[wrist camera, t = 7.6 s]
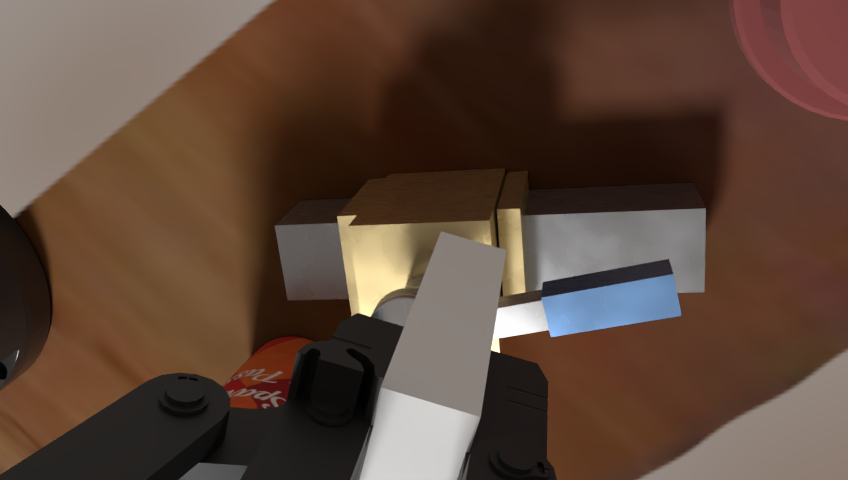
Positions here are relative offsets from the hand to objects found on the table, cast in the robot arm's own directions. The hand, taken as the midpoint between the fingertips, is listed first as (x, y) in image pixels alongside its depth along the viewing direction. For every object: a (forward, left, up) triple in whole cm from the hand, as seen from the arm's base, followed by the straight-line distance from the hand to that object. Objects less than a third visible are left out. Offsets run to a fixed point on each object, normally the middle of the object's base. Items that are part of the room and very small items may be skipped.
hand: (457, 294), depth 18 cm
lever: (0, -6, -11) cm, 13 cm away
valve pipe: (-2, -6, -22) cm, 23 cm away
